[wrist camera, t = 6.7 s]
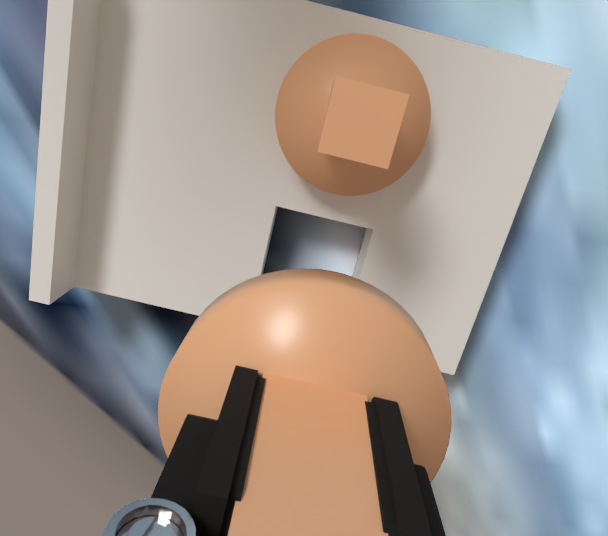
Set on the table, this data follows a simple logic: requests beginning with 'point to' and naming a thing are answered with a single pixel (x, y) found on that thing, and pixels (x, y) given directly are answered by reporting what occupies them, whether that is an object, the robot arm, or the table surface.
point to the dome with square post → (310, 396)
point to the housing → (278, 151)
